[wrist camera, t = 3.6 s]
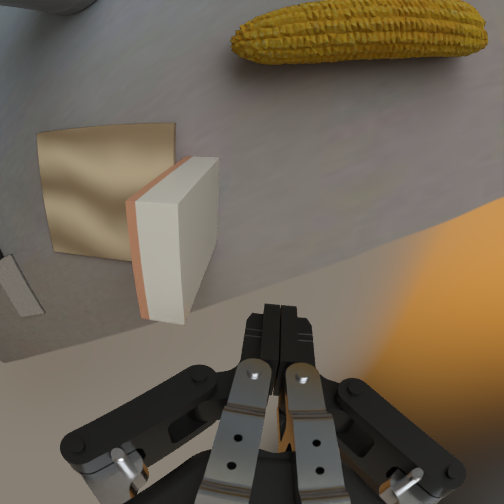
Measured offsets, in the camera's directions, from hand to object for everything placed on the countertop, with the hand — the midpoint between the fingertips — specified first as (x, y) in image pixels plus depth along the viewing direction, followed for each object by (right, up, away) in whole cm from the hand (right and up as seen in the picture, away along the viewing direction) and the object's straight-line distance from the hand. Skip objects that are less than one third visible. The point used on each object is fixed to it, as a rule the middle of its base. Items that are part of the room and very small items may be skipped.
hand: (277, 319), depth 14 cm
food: (+8, +21, +5) cm, 23 cm away
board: (-16, +9, +14) cm, 23 cm away
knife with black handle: (-38, +4, +18) cm, 42 cm away
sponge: (-6, +8, +13) cm, 16 cm away
